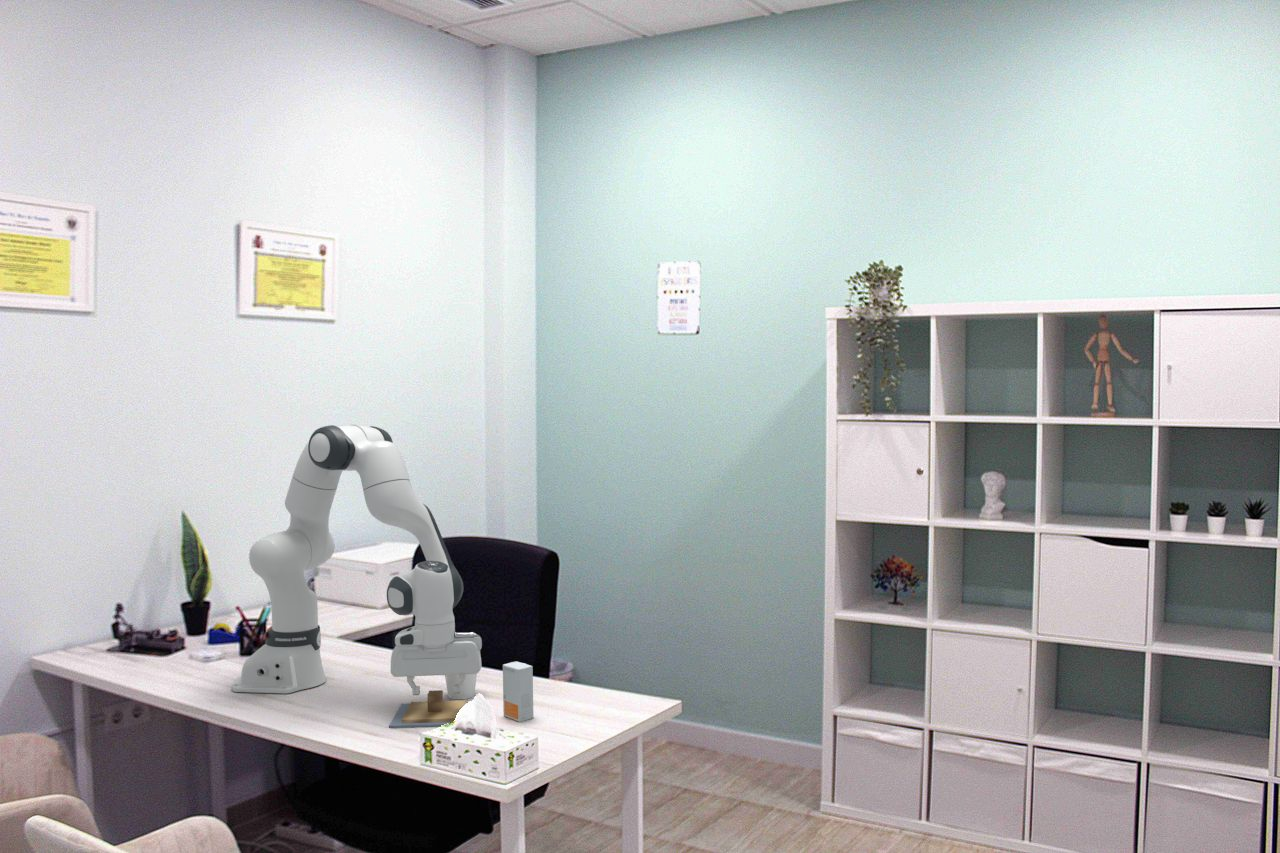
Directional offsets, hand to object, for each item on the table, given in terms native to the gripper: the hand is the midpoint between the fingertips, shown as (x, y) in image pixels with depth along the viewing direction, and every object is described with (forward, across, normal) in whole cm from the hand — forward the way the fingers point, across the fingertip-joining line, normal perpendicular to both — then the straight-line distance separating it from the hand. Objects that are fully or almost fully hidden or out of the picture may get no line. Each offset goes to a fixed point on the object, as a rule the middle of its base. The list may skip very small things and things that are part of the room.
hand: (437, 693), depth 244 cm
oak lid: (+4, +1, 0) cm, 4 cm away
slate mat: (+5, +1, 0) cm, 5 cm away
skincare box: (+5, -18, +3) cm, 19 cm away
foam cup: (+5, -4, -15) cm, 16 cm away
